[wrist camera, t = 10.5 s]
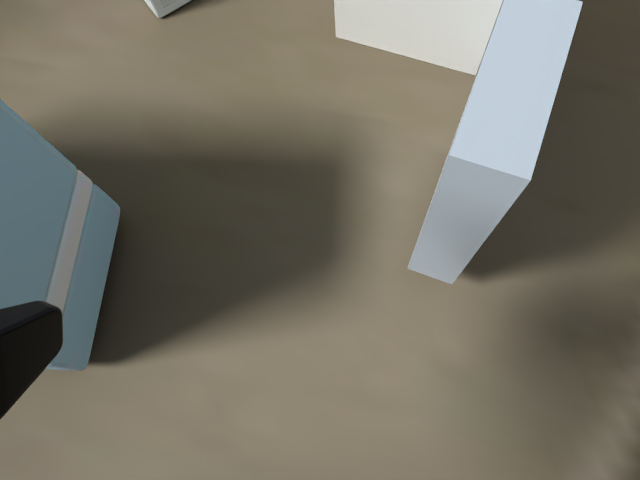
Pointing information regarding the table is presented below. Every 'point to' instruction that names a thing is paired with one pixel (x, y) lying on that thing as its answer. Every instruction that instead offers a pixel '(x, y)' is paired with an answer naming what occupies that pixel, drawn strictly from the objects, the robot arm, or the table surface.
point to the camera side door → (497, 133)
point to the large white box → (421, 28)
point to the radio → (52, 235)
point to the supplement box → (164, 6)
